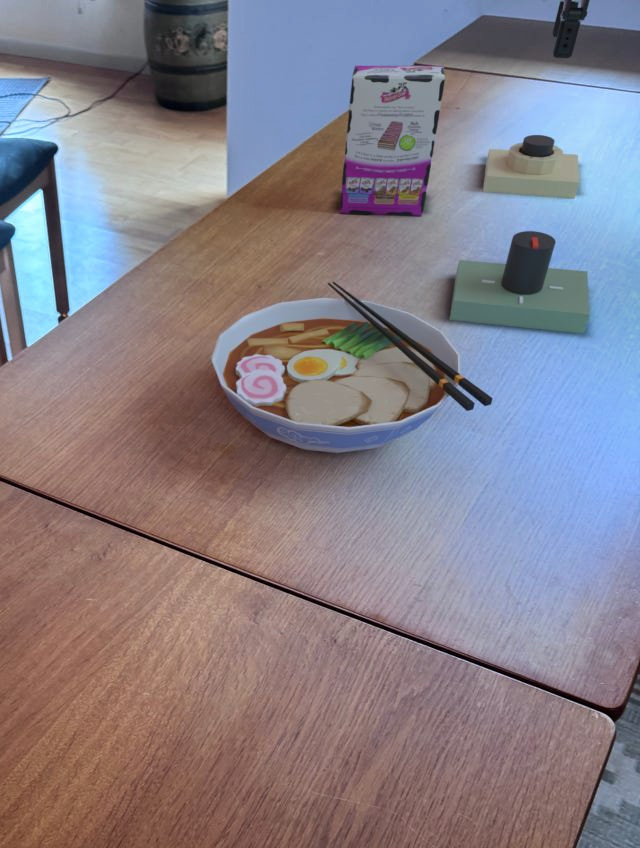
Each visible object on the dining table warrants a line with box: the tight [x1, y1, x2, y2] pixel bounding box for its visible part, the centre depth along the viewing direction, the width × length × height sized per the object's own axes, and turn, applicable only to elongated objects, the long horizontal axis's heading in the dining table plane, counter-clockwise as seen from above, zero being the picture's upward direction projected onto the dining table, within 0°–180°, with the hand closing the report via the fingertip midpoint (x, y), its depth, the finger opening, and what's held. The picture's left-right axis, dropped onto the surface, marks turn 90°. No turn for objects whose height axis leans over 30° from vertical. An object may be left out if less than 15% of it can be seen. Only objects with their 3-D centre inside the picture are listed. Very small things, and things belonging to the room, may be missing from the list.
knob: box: [501, 230, 557, 294], centre depth 98 cm, size 4×4×5 cm
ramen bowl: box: [211, 281, 494, 454], centre depth 86 cm, size 25×23×8 cm
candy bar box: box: [338, 65, 446, 217], centre depth 116 cm, size 11×5×16 cm, turn 80°
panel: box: [449, 259, 591, 335], centre depth 101 cm, size 14×10×3 cm
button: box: [520, 134, 555, 157], centre depth 123 cm, size 4×4×2 cm
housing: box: [482, 142, 580, 200], centre depth 125 cm, size 12×10×4 cm
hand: (561, 46), depth 114 cm, fingers open, 8 cm apart
